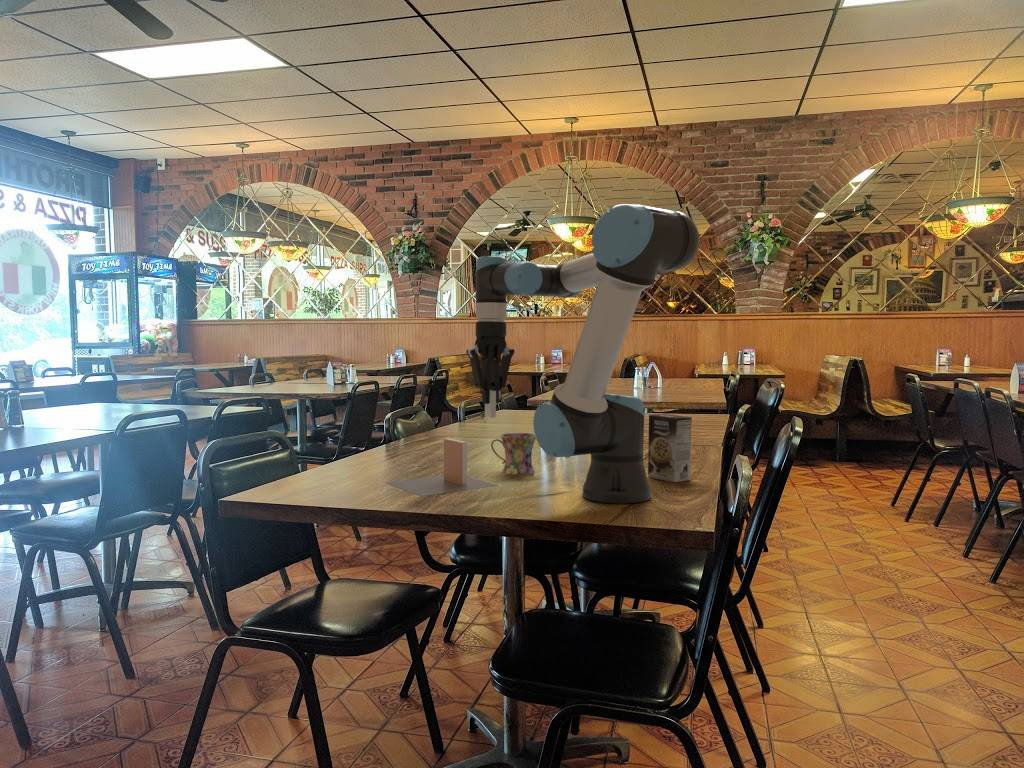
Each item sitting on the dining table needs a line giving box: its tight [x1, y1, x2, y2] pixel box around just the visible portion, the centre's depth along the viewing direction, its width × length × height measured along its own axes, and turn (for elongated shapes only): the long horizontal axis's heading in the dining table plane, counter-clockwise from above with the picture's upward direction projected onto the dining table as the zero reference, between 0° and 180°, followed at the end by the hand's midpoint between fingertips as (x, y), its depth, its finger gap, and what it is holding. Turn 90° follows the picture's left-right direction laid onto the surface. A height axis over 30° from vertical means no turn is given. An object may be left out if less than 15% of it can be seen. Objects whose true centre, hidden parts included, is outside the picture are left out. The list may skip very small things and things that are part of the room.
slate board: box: [386, 474, 498, 497], centre depth 172 cm, size 18×20×1 cm
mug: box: [490, 432, 537, 476], centre depth 189 cm, size 12×9×11 cm
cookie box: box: [647, 413, 693, 483], centre depth 186 cm, size 9×6×16 cm
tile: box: [443, 437, 468, 485], centre depth 174 cm, size 8×2×10 cm, turn 36°
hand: (490, 416), depth 180 cm, fingers closed
